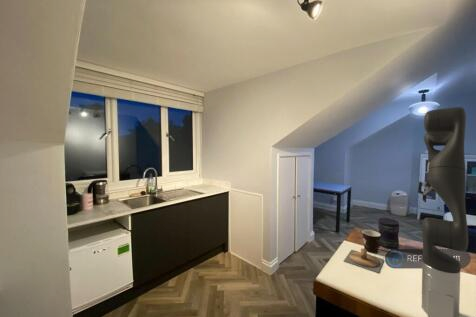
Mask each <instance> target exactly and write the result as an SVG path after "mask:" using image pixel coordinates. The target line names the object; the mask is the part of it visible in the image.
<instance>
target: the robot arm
mask: <svg viewBox="0 0 476 317" xmlns="http://www.w3.org/2000/svg"><path fill="white" fill-rule="evenodd" d="M466 117H467V116H466V111H465V109H464V108H463V107H461V106H457V107H455V106H454V107H446V108H438V109H437V108H436V109H431V110H428V111H427V112H426V113H425V115H424V116H423V118H424V119H423V128H424V131H425V132H426V133H425V134H424V136H423V141H424V145H425V147H426V150H427V157H428V158H427V167H426V168H427V169H426V172H427V173H426V182H425V181H424V182H423V181H419V182H418V190H417V192H418V194H421V196H422V201H423V202H424V203H427V194H429V193H430V192H431V191H432V192H435V193H436V194H437V195H438V196H439V198H440V199H441V200H442V201H443V203H444V204H445V205H446V207H447V209H448V210H449V213H450V214H451V217H452V220H448V219H441V218H440V219H439V218H434V217H425V218H423V221H422V224H421V233H422V234H421V235H422V265H421V268H422V269H421V270H422V271H421V308H422V310H423V309H424V310H423V311H424V312H425V314H426V315H428V317H429V316H431V317H460V299H461V298H460V294H461V293H460V292H461V268H462V267H461V263H460V261H459V260H458V259H457V258H455V257H454V256H452V255H449V254H448V253H446V252H444V251H442V250H441V249H439V248H444V249H448V250H453V251H458V252H465V251H467V250H468V246H469V231H468V229H469V228H468V223H467V222H468V220H467V210H466V181H467V180H466V178H467V177H466V175H467V174H466V162H465V161H466V160H465V139H466V138H465V137H466V136H465V135H466V121H467V120H466V119H467V118H466ZM435 146H436V147H437V146H438V147H441V146H442V147H443V148H442V149H441V150H440V149H436V148H434V147H435ZM425 185H426V186H427V188H425V190H424V191H422V187H424V186H425ZM438 247H439V248H438Z"/></svg>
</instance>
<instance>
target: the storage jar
mask: <svg viewBox="0 0 476 317" xmlns="http://www.w3.org/2000/svg"><path fill="white" fill-rule="evenodd" d="M377 225H378V227H377V228H378V233H380V234H381V236H380V247H381V248H384V249H386V250H391V251H395V250H396V251H397V250H399V248H400V247H399V246H400V239H399V238H400V237H399V232H400V222H399V221H398V220H396V219H392V218H388V217H387V218H385V217H381V218H378V223H377Z"/></svg>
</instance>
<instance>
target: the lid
mask: <svg viewBox="0 0 476 317" xmlns="http://www.w3.org/2000/svg"><path fill="white" fill-rule="evenodd" d="M349 253H350V252H349ZM374 256H375V255H372V254H369V253H368V252H367V250H366V249H364V248H361V249H360V251H358V252H353V253H350V255H349V258H350V259H351V261H353V262H354V263H356V264H358V265H361V266H364V267H377V266H378V265H379V260H378V259H377V258H375V257H376V256H375V257H374Z"/></svg>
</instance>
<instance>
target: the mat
mask: <svg viewBox="0 0 476 317" xmlns="http://www.w3.org/2000/svg"><path fill="white" fill-rule="evenodd" d="M353 252H359V251H357V250H355V249H351V250H350V251H349V252H348V254H347V255H346V257H345V258H344V259H343V262H344V263H347V264H351V265H353V266H355V267H358V268H361V269H365V270H367V271H371V272H374V273H376V274H379V273H380V270H381V268H382V265H383V263H384V260H385V258H381V257H378V256H375V255H373V256H374V257H375V258H377V259H378V260H379V265H378V266H377V267H364V266H361V265H358V264H356V263H354V262H353V261H351V259H350V258H349V255H350V253H353Z"/></svg>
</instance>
